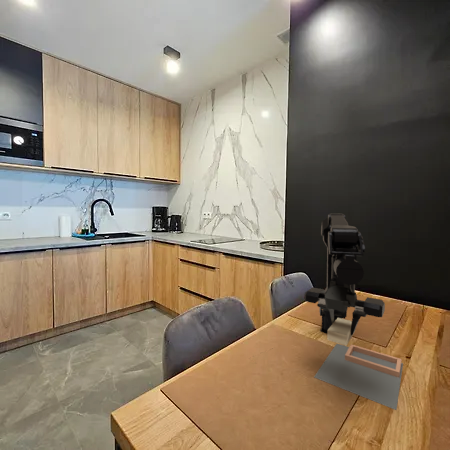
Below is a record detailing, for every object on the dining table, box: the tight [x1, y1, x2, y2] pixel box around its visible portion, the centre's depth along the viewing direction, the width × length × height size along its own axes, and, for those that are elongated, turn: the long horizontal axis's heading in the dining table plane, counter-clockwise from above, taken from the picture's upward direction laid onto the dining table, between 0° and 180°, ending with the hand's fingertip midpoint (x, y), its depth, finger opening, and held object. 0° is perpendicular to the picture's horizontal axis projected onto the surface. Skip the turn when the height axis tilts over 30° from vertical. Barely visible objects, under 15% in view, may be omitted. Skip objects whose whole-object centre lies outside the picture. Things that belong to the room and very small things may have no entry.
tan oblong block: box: [326, 318, 356, 347], centre depth 68 cm, size 10×5×3 cm, turn 142°
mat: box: [313, 343, 404, 411], centre depth 70 cm, size 18×22×1 cm
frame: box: [345, 343, 402, 377], centre depth 74 cm, size 13×8×1 cm, turn 52°
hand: (341, 332), depth 68 cm, fingers closed on tan oblong block, 5 cm apart
